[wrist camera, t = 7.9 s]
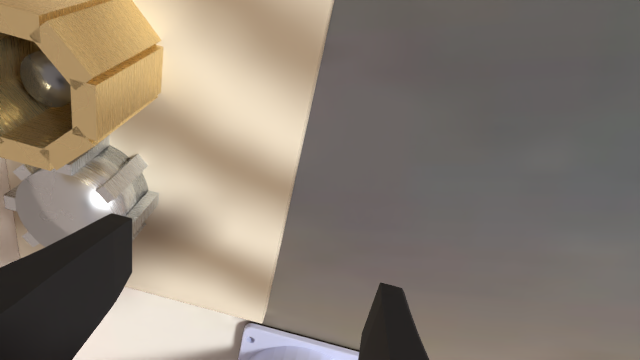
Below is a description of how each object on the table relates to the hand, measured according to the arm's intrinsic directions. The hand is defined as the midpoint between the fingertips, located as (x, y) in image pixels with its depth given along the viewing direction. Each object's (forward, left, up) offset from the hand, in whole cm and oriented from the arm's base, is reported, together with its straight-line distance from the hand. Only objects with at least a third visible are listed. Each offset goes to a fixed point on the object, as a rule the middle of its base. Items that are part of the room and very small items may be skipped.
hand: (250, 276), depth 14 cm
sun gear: (-5, +9, -9) cm, 14 cm away
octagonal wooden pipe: (+2, +9, -8) cm, 13 cm away
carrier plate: (-1, +7, -9) cm, 12 cm away
